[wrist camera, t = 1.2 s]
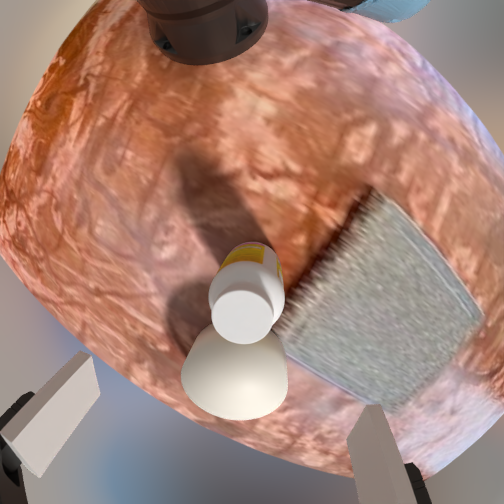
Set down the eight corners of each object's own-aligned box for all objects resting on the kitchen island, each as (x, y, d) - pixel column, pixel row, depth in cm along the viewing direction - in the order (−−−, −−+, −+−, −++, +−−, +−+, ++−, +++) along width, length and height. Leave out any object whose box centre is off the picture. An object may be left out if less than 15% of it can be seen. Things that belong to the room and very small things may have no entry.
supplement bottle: (213, 268, 33) (180, 315, 20) (251, 228, 31) (238, 256, 19) (254, 305, 33) (244, 368, 21) (293, 268, 32) (305, 318, 20)
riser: (185, 318, 35) (170, 341, 29) (285, 315, 34) (286, 340, 28) (201, 391, 38) (192, 417, 32) (286, 391, 37) (287, 419, 31)
